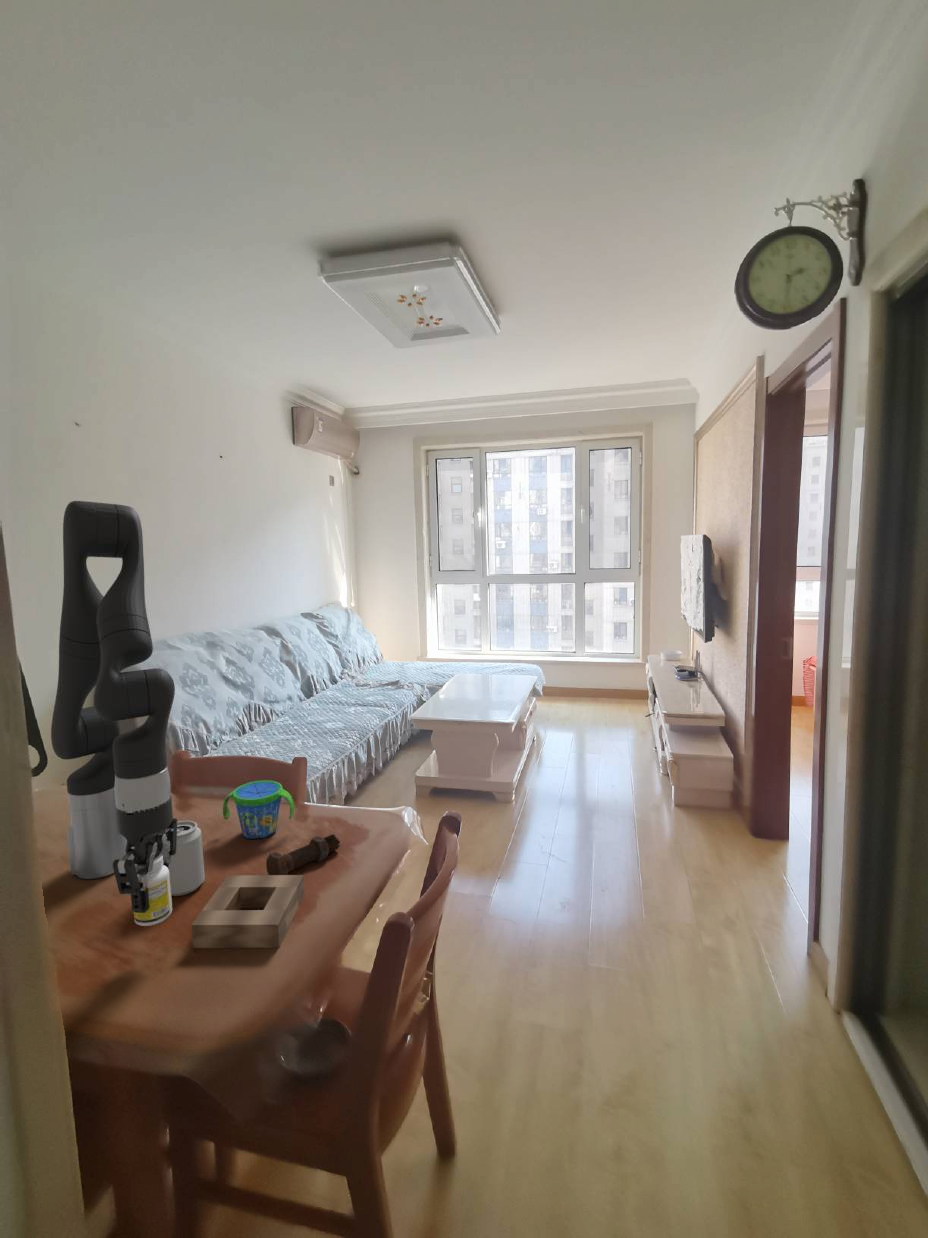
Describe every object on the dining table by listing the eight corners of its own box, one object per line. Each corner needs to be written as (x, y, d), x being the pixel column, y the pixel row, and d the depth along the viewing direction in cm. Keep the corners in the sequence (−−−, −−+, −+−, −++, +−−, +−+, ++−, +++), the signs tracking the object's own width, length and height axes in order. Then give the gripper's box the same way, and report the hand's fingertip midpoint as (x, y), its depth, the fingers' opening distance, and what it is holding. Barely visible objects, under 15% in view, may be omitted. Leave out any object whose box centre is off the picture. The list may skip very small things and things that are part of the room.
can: (214, 879, 113) (209, 821, 111) (184, 901, 106) (178, 840, 104) (183, 872, 115) (179, 815, 114) (152, 894, 108) (147, 833, 107)
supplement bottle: (143, 906, 94) (139, 850, 93) (178, 904, 95) (174, 848, 94) (127, 928, 89) (122, 869, 88) (163, 926, 90) (159, 867, 88)
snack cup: (302, 822, 136) (300, 780, 134) (283, 845, 125) (280, 800, 124) (239, 819, 137) (236, 778, 136) (215, 842, 127) (212, 798, 126)
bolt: (339, 859, 123) (275, 889, 112) (326, 841, 126) (263, 868, 114) (347, 840, 121) (283, 869, 109) (334, 822, 123) (270, 849, 112)
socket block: (193, 948, 94) (191, 925, 93) (229, 895, 107) (227, 875, 107) (279, 947, 93) (277, 924, 93) (304, 895, 107) (303, 875, 107)
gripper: (146, 778, 96) (153, 872, 99) (88, 820, 82) (99, 929, 85) (190, 778, 96) (197, 873, 99) (141, 821, 82) (150, 930, 84)
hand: (151, 898), depth 92 cm, fingers closed on supplement bottle, 5 cm apart
